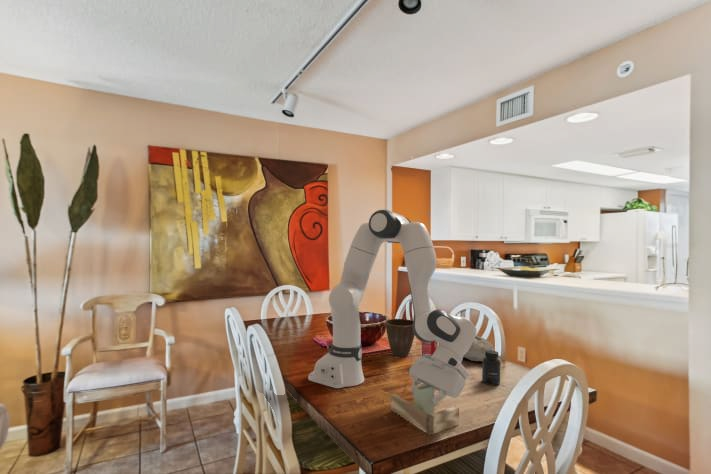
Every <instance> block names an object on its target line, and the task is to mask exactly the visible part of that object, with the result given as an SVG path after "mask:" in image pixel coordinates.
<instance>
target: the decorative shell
mask: <svg viewBox="0 0 711 474" xmlns="http://www.w3.org/2000/svg"><path fill="white" fill-rule="evenodd" d="M487 350H493V351H495V349H494V346H493V345H492V342H491V341H488V340H487V339H486V338H484V337H481V336H477V335H476V337H475V339H474V341H473V343H472V345H471V347H470V349H469V351H468V352H467V353H466V354H465V355H464V357H463V358H465V359H467V360H469V361H473V362H482V360H483V358H484V357H486V356H485V351H487Z"/></svg>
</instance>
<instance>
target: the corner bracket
mask: <svg viewBox="0 0 711 474" xmlns="http://www.w3.org/2000/svg"><path fill="white" fill-rule="evenodd" d="M390 396H391V397H390V398H391V406H390V408H391V409H390V410H392V411H391V412H393V413H395V414H396V413H397V414H396V415H398V416H399V415H400V416H399V417H400V418H402V417H403V419H404V421H405V420H406V421H407V422H408V421H409V422H408V423H410V424H411V423H412V424H411V425H413V426H415V427H416V428H417V429H419V430H421V431H422V430H423V431H422V432H424V433H425V432H426V434H427V435H428V434H429V435H428V436H432V435H435V434H437V433H441V432H442V430H443V431H445V430H448V429H451V428H453V426H454V427H456V426H458V425H459V426H460V407H458V406H456V405H453V406H451V407H449V408H445V409H443V410H439V411H436V412H434V413H433V414H428V413H427V412H425V411H423V410H421V409H420V408H418V407H416V406H415V405H414V403H411V402H409V401H408V400H406V399H404V398H403V397H401V396H399V395H397V394H396V393H394V394H391V395H390ZM434 433H435V434H434ZM431 434H432V435H431Z"/></svg>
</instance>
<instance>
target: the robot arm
mask: <svg viewBox="0 0 711 474" xmlns="http://www.w3.org/2000/svg"><path fill="white" fill-rule="evenodd" d="M385 242H386V243H388V244H390V243H391V244H392V243H395V244H400V246H401V249H402V252H403V257H404V261H405V262H404V263H405V266H406V270H407V277H408V281H409V282H408V283H409V291H410V297H411V303H412V310H413V320H412V321H413V326H412V328H413V333H414V337H415V338H416V339H417V340H419V341H420V342H421V343H422V342H424V343H431V342H433V341H435V340H436V341H437V342H438V347H437V349H436V350H435V352H434V353H433V355H432V356H429V355H427V354H425V355H423V356H422V355H420V357H418V358H417V359H416V361H415V362H414V363H413V364H412V365H411V367H410V368H409V370H408V375H409V376H411V378H412V386H411V387H410V389H409V391H410V393H412V394H413V395H414V386H418V385H421V383H422V384H426V385H429V386H431V387H432V388H434V390H436V391H438V394H437V395H434V397H432V399H431V400H430V402H431V403H432V404H434V406H437V405H439V404H438V403H440V402H441V401H442V400H444V399H446V397H447V396H448V397H450V398H452V399H457V398H458V397H459V396H460V395H461V393H462V392H463V390H464V389H465V386H466V380H468V378H470V373H469V371H468V370H467V369H466V367H465V366H464V365H463V364H462V362H463V358H464V355H465V354H466V353H467V352H468V351H469V349H470V347H471V345H472V343H473V341H474V339H475V337H476V336H477V327H476V325H475V324H474V323H473V322H472V321H471V320H470V319H469V318H467V317H465V316H458V315H453V314H450V313H448V311H445V310H443V309H433V310H432V308H431V302H430V301H431V300H430V297H429V283H430V280H431V278H432V276H433V274H434V272H435V271H436V270H437V265H438V264H437V254H436V251H435V247H434V244H433V240H432V237H431V235H430V233H429V230H428V228H427V227H426V225H425V224H424V223H422V222H420V221H412V222H411V220H410V219H409V218H407V217H405V216H404V215H402V214H401V213H400V214H399V213H398V212H394V211H391V210H388V209H378V210H376V211H375V212H373V213H372V214H371V215H370V217H369V219H368V222H363V223H362V224H360V225H359V228H358V229H357V230H356V233H355V235H354V237H353V239H352V242H351V243H350V246H349V249H348V252H347V255H346V257H345V260H344V263H343V268H342V273H341V276H340V281H339V283H338V284H337V285H335V286H334V287H332V289H331V291H330V292H329V297H328V302H329V306H330V313H331V314H330V315H331V320H332V341H331V343H330V344H328V346H327V347H326V350H328V352H327V353H326V354H324V355H323V356H321V358H319V359H318V360H317V361H316V362H315V363H314V364H315V365H314V369H313V371H311V372H310V373H309V374H308V377H307V380H308V381H310V382H313V383H316V384H320V385H323V386H327V387H331V388H334V389H341V388H346V387H347V388H348V387H355V386H358V385H361V384H362V383H364V382H365V380H366V379H365V376H364V373H363V366H362V356H363V347H362V343H361V341H362V338H361V335H362V334H361V333H362V332H361V331H362V330H361V328H362V326H361V325H362V324H361V320H360V312H359V310H360V309H359V306H360V305H359V304H360V303H361V301H362V300H363V298H364V295H365V291H366V289H367V285H368V282H369V279H370V275H371V272H372V270H373V266H374V264H375V261H376V258H377V256H378V253H379V250H380V247H381V246H382V245H383V243H385ZM424 356H425V357H424Z"/></svg>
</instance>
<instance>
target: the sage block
mask: <svg viewBox="0 0 711 474" xmlns="http://www.w3.org/2000/svg"><path fill="white" fill-rule="evenodd" d="M432 397H435V389H434V388H432V387H431V386H429V385H426V384H424V383H422V384H418V386H414V394H413V405H415V406H416V407H418V408H420V409H421V410H423V411H425V412H427V413H428V414H433V413H435V405H434V404H432V403H431V402H430V400H431V399H432Z"/></svg>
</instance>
